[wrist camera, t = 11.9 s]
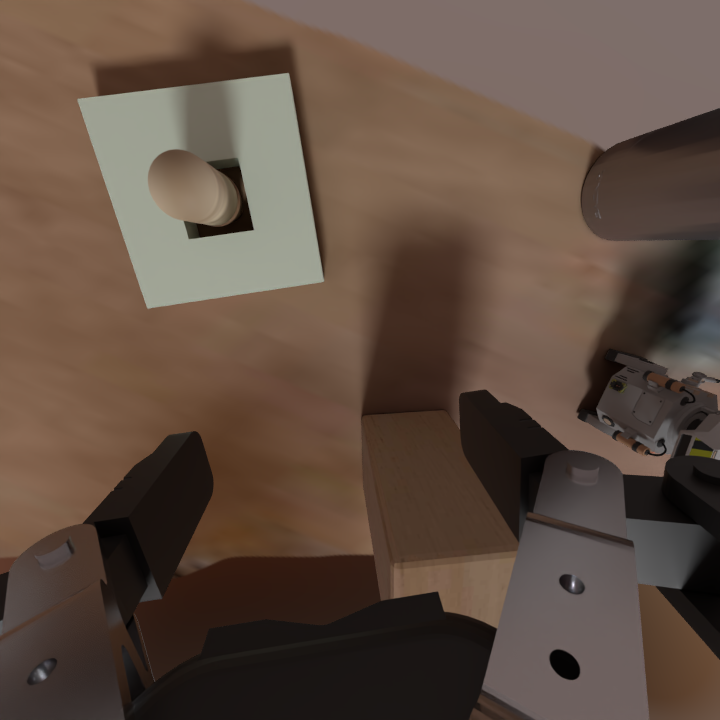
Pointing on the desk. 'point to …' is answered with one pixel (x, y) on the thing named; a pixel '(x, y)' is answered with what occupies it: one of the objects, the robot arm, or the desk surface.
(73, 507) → the desk surface
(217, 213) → the peg
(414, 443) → the wooden block
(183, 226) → the seat board
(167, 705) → the robot arm
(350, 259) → the desk surface
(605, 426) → the figurine
